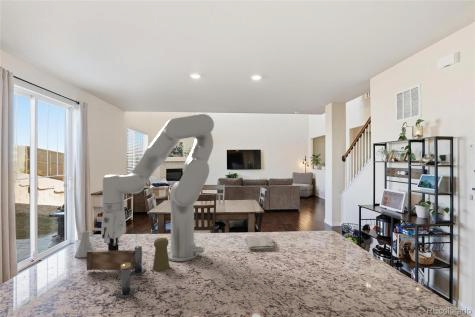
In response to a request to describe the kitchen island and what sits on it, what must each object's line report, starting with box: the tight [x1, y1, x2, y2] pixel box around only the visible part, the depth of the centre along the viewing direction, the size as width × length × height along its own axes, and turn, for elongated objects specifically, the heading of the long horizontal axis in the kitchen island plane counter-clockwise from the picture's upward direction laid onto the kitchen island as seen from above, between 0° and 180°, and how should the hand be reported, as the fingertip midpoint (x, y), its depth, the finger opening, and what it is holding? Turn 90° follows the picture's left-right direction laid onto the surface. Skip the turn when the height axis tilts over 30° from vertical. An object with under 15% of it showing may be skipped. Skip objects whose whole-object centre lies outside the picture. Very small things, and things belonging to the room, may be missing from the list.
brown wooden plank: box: [86, 249, 135, 271], centre depth 91 cm, size 17×2×6 cm, turn 88°
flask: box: [74, 230, 95, 259], centre depth 108 cm, size 7×7×10 cm
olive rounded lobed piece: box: [152, 237, 171, 272], centre depth 95 cm, size 6×6×11 cm
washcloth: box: [244, 235, 275, 252], centre depth 120 cm, size 12×18×3 cm, turn 5°
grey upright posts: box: [115, 245, 147, 299], centre depth 83 cm, size 7×19×9 cm, turn 178°
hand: (113, 254), depth 97 cm, fingers closed
